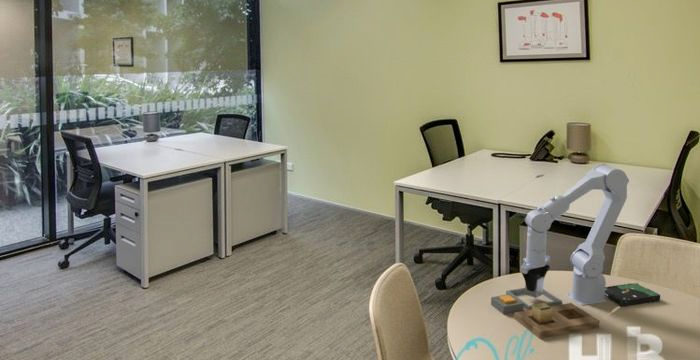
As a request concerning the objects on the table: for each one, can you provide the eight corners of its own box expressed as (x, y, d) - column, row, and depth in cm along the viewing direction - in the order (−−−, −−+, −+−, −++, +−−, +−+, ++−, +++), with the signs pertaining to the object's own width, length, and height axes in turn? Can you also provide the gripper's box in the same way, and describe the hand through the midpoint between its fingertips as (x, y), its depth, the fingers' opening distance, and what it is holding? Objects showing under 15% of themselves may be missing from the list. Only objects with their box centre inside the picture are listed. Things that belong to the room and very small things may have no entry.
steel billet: (531, 290, 166) (532, 272, 165) (542, 294, 163) (543, 276, 162) (524, 294, 164) (525, 276, 162) (536, 298, 161) (537, 279, 159)
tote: (537, 291, 171) (538, 285, 171) (561, 306, 160) (562, 300, 159) (505, 296, 168) (506, 290, 167) (528, 312, 156) (528, 306, 156)
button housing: (510, 302, 163) (510, 294, 163) (523, 312, 157) (523, 303, 156) (490, 305, 161) (491, 297, 161) (503, 315, 155) (503, 306, 154)
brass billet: (542, 321, 150) (543, 301, 149) (551, 327, 146) (552, 307, 145) (531, 323, 149) (532, 303, 148) (539, 329, 145) (540, 309, 144)
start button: (508, 303, 161) (509, 295, 160) (515, 308, 158) (515, 299, 157) (498, 305, 160) (499, 296, 159) (505, 310, 157) (505, 301, 156)
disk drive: (621, 309, 158) (660, 302, 162) (622, 301, 158) (661, 294, 161) (597, 295, 168) (635, 289, 172) (598, 287, 168) (635, 281, 171)
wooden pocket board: (570, 310, 157) (571, 302, 157) (599, 328, 146) (599, 320, 145) (514, 320, 152) (514, 312, 151) (539, 340, 141) (539, 331, 140)
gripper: (536, 239, 168) (534, 278, 170) (512, 250, 158) (510, 291, 161) (556, 244, 162) (554, 284, 165) (533, 256, 153) (531, 298, 156)
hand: (534, 288), depth 163 cm, fingers closed on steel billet, 4 cm apart
